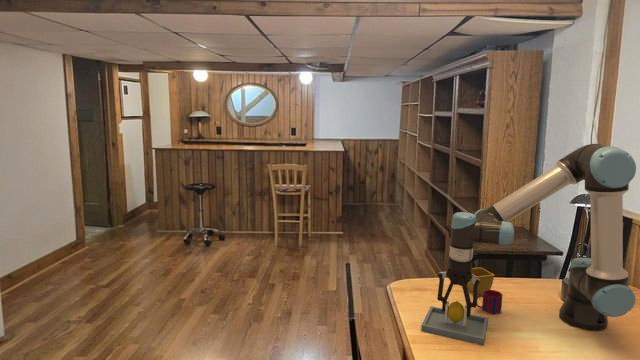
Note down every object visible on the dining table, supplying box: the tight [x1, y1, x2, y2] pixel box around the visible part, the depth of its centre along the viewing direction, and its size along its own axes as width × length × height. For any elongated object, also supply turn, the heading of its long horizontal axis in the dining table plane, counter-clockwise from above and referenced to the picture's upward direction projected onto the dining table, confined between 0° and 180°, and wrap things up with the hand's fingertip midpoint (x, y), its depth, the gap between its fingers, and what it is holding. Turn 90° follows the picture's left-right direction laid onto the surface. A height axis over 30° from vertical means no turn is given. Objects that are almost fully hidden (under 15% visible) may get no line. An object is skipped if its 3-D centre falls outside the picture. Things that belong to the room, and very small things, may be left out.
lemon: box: [448, 300, 465, 323], centre depth 155 cm, size 6×6×8 cm
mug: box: [476, 289, 504, 315], centre depth 169 cm, size 7×10×7 cm
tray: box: [420, 305, 489, 346], centre depth 156 cm, size 20×16×2 cm
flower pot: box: [467, 267, 495, 296], centre depth 184 cm, size 9×9×9 cm
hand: (455, 322), depth 156 cm, fingers closed on lemon, 5 cm apart
